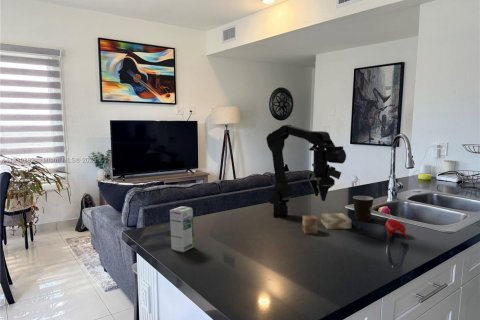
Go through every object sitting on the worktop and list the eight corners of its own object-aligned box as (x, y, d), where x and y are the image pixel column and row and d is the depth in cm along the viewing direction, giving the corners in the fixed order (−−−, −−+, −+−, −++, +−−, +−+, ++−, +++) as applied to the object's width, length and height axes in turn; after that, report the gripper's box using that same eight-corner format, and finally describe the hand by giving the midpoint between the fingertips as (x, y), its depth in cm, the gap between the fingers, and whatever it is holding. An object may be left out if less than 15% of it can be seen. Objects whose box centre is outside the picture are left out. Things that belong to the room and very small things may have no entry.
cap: (382, 228, 125) (397, 222, 122) (382, 219, 130) (396, 213, 127) (394, 243, 126) (409, 238, 123) (393, 234, 131) (408, 228, 128)
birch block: (327, 229, 136) (327, 220, 135) (320, 222, 146) (321, 213, 145) (351, 229, 136) (351, 219, 135) (343, 222, 146) (343, 213, 145)
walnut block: (305, 233, 130) (305, 219, 129) (302, 229, 135) (302, 215, 134) (317, 233, 130) (317, 218, 129) (314, 229, 135) (314, 215, 134)
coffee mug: (363, 223, 142) (364, 200, 141) (348, 218, 150) (349, 197, 149) (381, 219, 148) (382, 197, 147) (366, 215, 155) (367, 194, 154)
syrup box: (183, 252, 112) (182, 211, 110) (170, 249, 115) (169, 209, 113) (194, 247, 117) (193, 207, 115) (181, 244, 120) (180, 205, 118)
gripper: (347, 163, 128) (347, 203, 129) (331, 159, 146) (331, 193, 148) (320, 164, 127) (319, 203, 129) (307, 159, 145) (306, 194, 147)
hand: (319, 198), depth 138 cm, fingers open, 9 cm apart
